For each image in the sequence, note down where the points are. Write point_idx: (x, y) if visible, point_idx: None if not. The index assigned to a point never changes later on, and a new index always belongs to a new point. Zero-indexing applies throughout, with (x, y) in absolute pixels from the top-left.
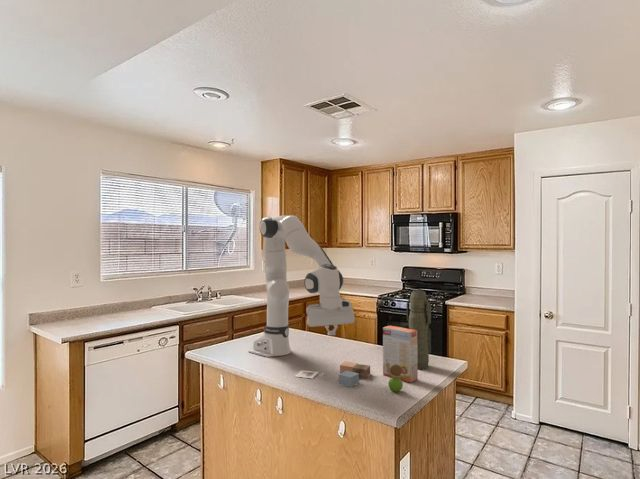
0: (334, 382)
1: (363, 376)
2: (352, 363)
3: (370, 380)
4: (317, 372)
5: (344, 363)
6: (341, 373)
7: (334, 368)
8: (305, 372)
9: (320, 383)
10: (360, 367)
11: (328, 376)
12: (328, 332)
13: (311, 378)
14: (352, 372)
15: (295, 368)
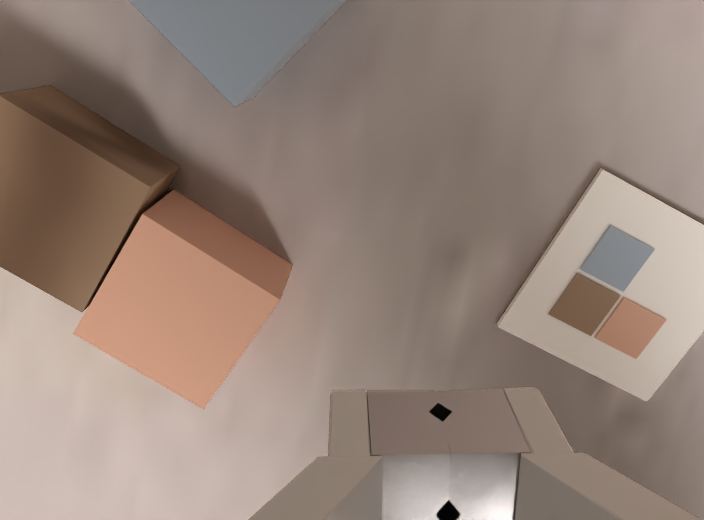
0: (396, 31)
1: (66, 102)
2: (132, 331)
3: (8, 28)
4: (510, 320)
5: (221, 345)
6: (315, 6)
7: (319, 411)
8: (630, 333)
9: (550, 25)
10: (56, 187)
11: (421, 214)
12: (562, 456)
13: (610, 174)
14: (173, 22)
15: (682, 468)
